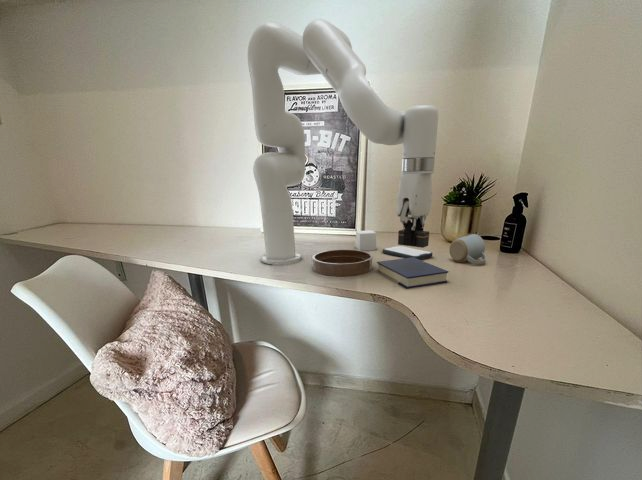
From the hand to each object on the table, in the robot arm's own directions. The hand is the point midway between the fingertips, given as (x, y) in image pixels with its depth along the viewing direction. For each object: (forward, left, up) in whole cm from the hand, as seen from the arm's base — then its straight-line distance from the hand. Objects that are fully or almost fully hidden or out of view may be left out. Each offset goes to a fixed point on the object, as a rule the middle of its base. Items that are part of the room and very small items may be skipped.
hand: (412, 243), depth 86 cm
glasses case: (0, 0, 0) cm, 0 cm away
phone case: (-21, +12, -9) cm, 26 cm away
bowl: (-14, -14, -9) cm, 22 cm away
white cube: (-36, +4, -9) cm, 37 cm away
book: (0, 0, -9) cm, 9 cm away
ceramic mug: (-6, +25, -9) cm, 27 cm away
